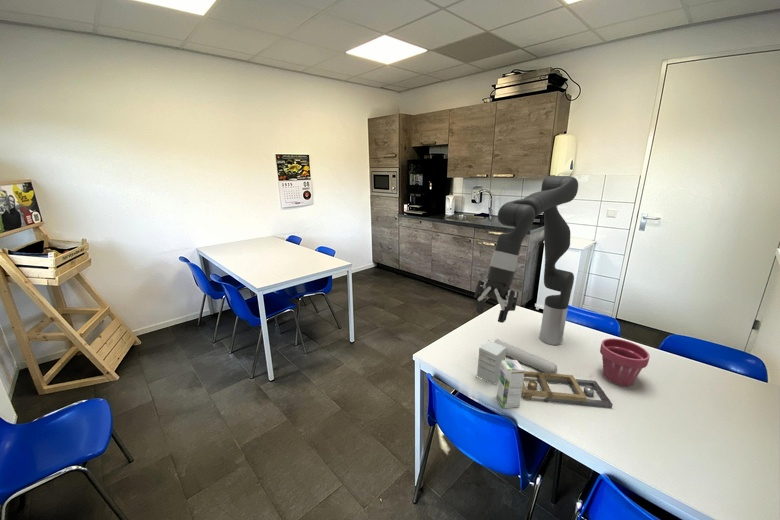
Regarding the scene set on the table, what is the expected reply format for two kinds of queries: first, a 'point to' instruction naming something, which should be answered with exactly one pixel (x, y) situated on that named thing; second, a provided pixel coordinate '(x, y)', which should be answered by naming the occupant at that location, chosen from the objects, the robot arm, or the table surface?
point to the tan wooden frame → (547, 392)
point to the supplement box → (490, 361)
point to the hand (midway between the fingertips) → (489, 317)
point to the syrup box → (510, 383)
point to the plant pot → (622, 361)
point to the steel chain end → (588, 391)
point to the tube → (528, 358)
